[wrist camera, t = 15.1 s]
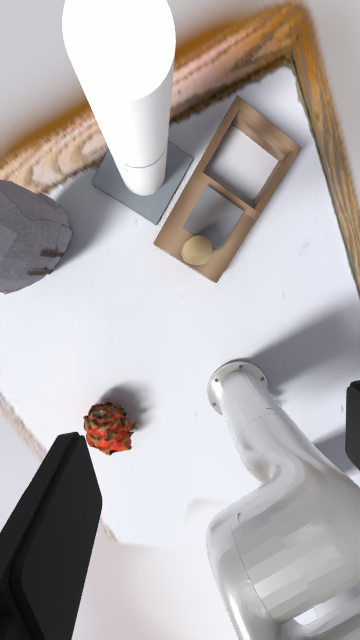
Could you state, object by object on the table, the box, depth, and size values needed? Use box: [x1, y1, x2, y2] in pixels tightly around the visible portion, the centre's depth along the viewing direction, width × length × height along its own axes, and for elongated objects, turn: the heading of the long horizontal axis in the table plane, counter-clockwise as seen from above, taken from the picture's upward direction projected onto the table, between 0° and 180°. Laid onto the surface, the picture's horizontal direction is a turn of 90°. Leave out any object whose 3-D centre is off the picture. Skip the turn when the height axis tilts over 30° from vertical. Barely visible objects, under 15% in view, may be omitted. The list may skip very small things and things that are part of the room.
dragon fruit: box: [83, 401, 137, 455], centre depth 47 cm, size 8×8×12 cm
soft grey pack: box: [0, 180, 73, 294], centre depth 32 cm, size 15×8×20 cm, turn 142°
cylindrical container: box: [62, 0, 176, 196], centre depth 28 cm, size 7×7×25 cm
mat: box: [92, 141, 193, 225], centre depth 40 cm, size 12×12×1 cm
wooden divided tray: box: [154, 95, 302, 283], centre depth 38 cm, size 12×24×10 cm, turn 149°
